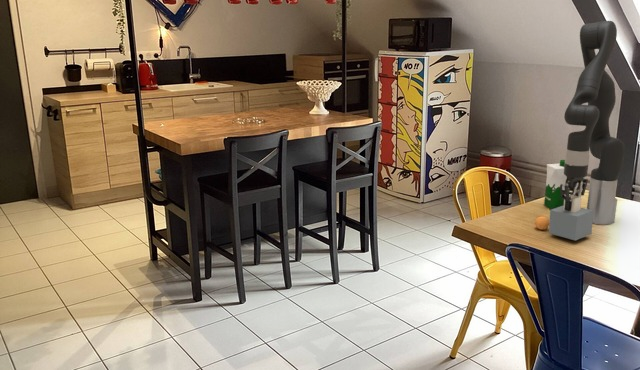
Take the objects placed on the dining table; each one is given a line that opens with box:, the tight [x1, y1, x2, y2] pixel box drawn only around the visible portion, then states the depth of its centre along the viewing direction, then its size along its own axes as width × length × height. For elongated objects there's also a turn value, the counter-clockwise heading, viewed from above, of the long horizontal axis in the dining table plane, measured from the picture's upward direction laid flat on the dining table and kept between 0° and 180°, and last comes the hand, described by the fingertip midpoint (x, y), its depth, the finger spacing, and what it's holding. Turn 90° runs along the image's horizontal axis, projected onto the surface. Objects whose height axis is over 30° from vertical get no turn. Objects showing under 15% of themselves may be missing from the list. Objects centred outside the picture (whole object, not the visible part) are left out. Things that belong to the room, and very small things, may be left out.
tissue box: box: [548, 194, 594, 241], centre depth 197 cm, size 10×10×14 cm
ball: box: [534, 215, 550, 231], centre depth 207 cm, size 5×5×5 cm
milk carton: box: [543, 159, 571, 210], centre depth 229 cm, size 9×9×20 cm
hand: (571, 208), depth 197 cm, fingers closed on tissue box, 4 cm apart
